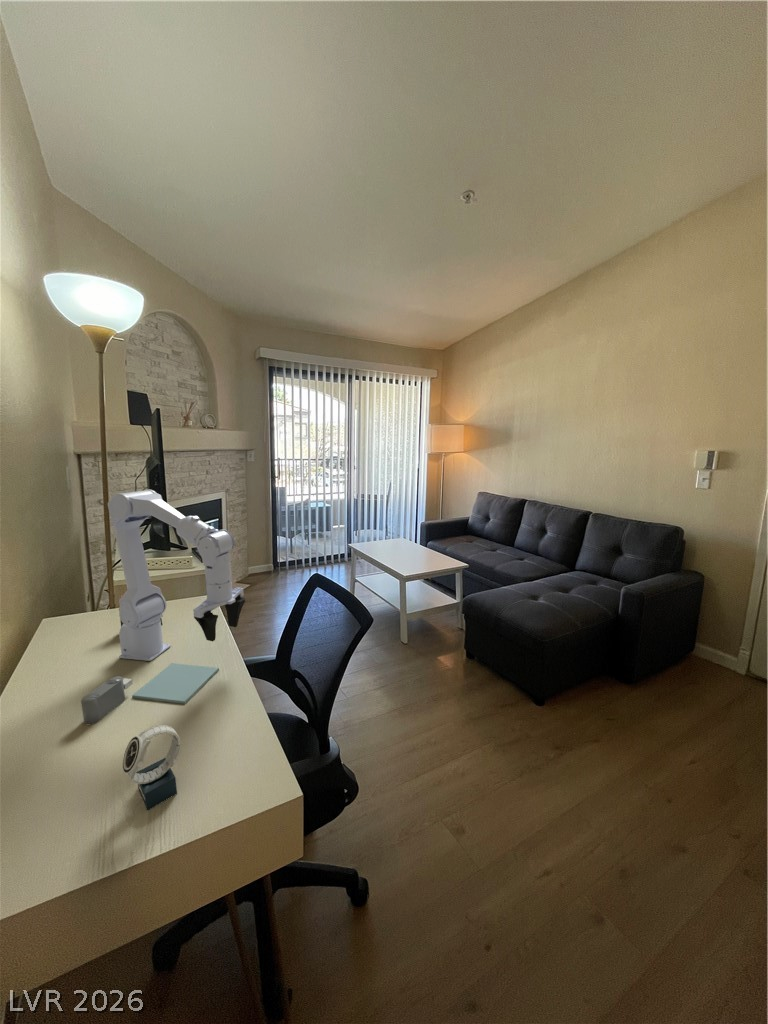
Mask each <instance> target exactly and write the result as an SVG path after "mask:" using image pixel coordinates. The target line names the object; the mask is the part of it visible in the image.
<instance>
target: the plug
mask: <svg viewBox="0 0 768 1024" xmlns="http://www.w3.org/2000/svg"><path fill="white" fill-rule="evenodd" d="M133 684H134V683H133V679H132V678H125V677H122V676H119V675H117V676H113V677H111V678H109V679H107V680H106V681H105V682H103V683H102V684H100V685H99V686H98V687H96V688H95V689H93V690H92V691H90V692H89V693H87V694H85V696H83V697H82V698H81V700H80V703H81V704H80V705H81V710H82V717H83V724H84V723H85V725H86V724H90V725H94V724H96V723H98V722H99V720H100V721H101V720H102V719H103V718H105V717H106V716H107V715H108V714H109V712H110V713H111V712H112V711H113V710H115V709H116V708H117V707H119V705H120V704H122V703H124V701H125V700H126V693H125V690H127V689H128V688H129V687H131V686H132V685H133ZM104 716H105V717H104ZM93 723H94V724H93Z"/></svg>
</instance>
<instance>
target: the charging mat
mask: <svg viewBox="0 0 768 1024" xmlns="http://www.w3.org/2000/svg"><path fill="white" fill-rule="evenodd" d="M219 671H220V668H219V667H214V666H213V667H212V666H202V665H192V664H183V663H173V662H171V663H170V664H169V665H168V666H166V667H165V668H164V669H163V670H162V671H160V672H159V673H157V674H156V675H155V676H154V677H153V678H151V680H149V681H148V682H147V683H145V684H144V685H143V686H141V688H139V689H138V690H137V691H136V692H134V693H133V694H132V698H135V699H143V700H150V701H157V702H158V701H159V702H167V703H175V704H182V705H183V704H184V705H185V704H187V703H188V701H189V702H190V700H191V699H192V698H193V697H194V696H195V695H196V694H197V693H198V692H199V691H200V690H201V689H202V688H203V687H204V686H205V685H206V684H207V683H208V682H209V680H211V679H213V676H215V675H216V674H217V673H218V672H219Z"/></svg>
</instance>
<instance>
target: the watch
mask: <svg viewBox="0 0 768 1024" xmlns="http://www.w3.org/2000/svg"><path fill="white" fill-rule="evenodd" d="M165 734H169V735H172V739H171V743H170V746H169V749H168V751H167V753H166V755H165V757H164V758H161V759H159V760H158V761H156V762H153V763H151V764H150V765H148V766H146V767H144V768H141V767H143V765H144V762H145V759H146V757H147V753H148V748H149V745H150V744H151V740H152V739H153V738H155V737H157V736H160V735H165ZM181 746H182V743H181V739H180V736H179V735H178V733H177V731H176V730H175V729H174V727H172V726H170V725H167V724H158V725H154V726H151V727H149V728H146V729H145V730H142V731H141V732H139V734H137V735H136V736H133V737H132V738H131V739H130V740H129V742H128V744H127V746H126V749H125V752H124V755H123V760H122V770H123V773H124V774H127V776H128V778H129V780H130V781H131V782H132V783H134V784H137V789H139V790H138V793H139V794H140V797H141V800H142V802H143V804H144V806H145V809H146V811H147V810H148V811H149V810H151V809H153V808H154V807H156V806H159V805H160V804H162V803H163V802H165V801H167V800H169V799H170V798H172V797H174V796H175V794H176V795H177V794H178V789H177V780H176V775H175V774H174V772H173V770H172V767H173V766H174V764H175V762H176V760H177V759H178V756H179V754H180V750H181ZM171 796H172V797H171ZM168 798H169V799H168ZM166 799H167V800H166ZM161 802H162V803H161Z"/></svg>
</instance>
